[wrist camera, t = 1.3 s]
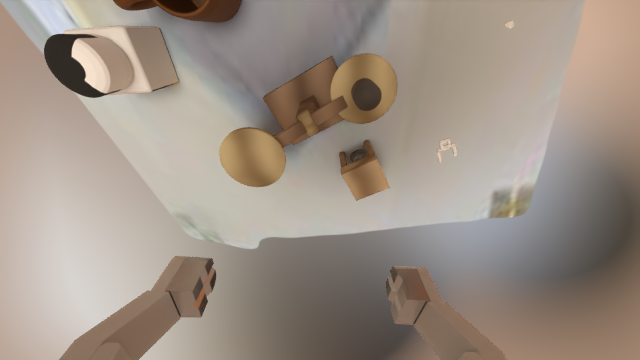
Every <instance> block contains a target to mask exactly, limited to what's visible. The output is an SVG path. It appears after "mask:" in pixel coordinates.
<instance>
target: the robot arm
mask: <svg viewBox="0 0 640 360" xmlns="http://www.w3.org/2000/svg"><path fill="white" fill-rule="evenodd" d="M213 264H214V263H213V259H212V258H200V257H185V256H175V257H174V258H173V259H172V260H171V261H170V263H169V264H168V266H167V267H166V269H165V270H164V272H163V273H162V275H161V276H160V278H159V279H158V281H157V282H156V284H155V285H154V287H153V288H152V290H151V291H146V292H145V293H143V294H142V295H140V296H139V297H138V298H136V299H134V300H133V301H131V302H130V303H129V304H127V305H126V306H124V307H123V308H121V309H120V310H119V311H117V312H116V313H114V314H112V315H111V316H110V317H108V318H107V319H105V320H104V321H102V322H101V323H99V324H98V325H97V326H95V327H94V328H92V329H91V330H89V331H88V332H86V333H85V334H84V335H82V336H80V337H79V338H78V339H76V340H75V341H74V342H73V343H72V344H71V346H70V347H69V348H68V350H67V351H66V352H65V353H64V354H63V356H62V357H61V358H60V359H59V360H139V359H140V358H141V357H142V356H143V355H144V354H145V352H147V351H148V350H149V349H150V348H151V347H152V346H153V345H154V344H155V343H156V342H157V341H158V340H159V339H160V338H161V337H162V336H163V335H164V334H165V333H166V332H167V331H168V330H169V329H170V328H171V327H172V326H173V325H174V324H175V323H176V322H177V321H178V320H179V319H180V317H202V314H203V312H204V310H205V307H206V305H207V302H208V300H207V297H206V296H207V295H209V294H210V293H211V292H212V291H213V288H214V285H215V281H216V271H215V269H214V268H212V266H213ZM390 273H391V275H390V276H389V277H388V278H387V281H386V293H387V297H388V299H389V300H390V301H391V302H392V303H393V304H392V306H391V311H392V315H393V319H394V322H395V323H396V324H411V325H414V327H415V328H416V329H417V331H418V332H419V333H420V334H421V336H422V337H423V338H424V339H425V341H426V342H427V343H428V344H429V346H430V347H431V348H432V350H433V351H434V352H435V353H436V355H437V356H438V357H439V358H440V359H441V360H507V359H506V357H505V355H504V354H503V352H502V351H501V350H500V349H499V348H498V347H496V346H495V345H494V344H493V343H492V342H490V340H489V339H488V338H486V337H485V336H484V335H483V334H482V333H481V332H480V331H478V330H477V329H476V328H475V327H474V326H473V325H472V324H471V323H469V322H468V321H467V320H466V319H465V318H464V317H463V316H462V315H460V314H459V313H458V312H457V311H456V310H455V309H454V308H453V307H451V306H450V305H449V304H448V303H447V302H443V301H442V299H441V297H440V294H439V292H438V290H437V288H436V286H435V284H434V282H433V280H432V278H431V276H430V274H429V272H428V270H427V269H426V268H423V267H421V268H420V267H403V266H402V267H401V266H393V267H392V268H391V270H390Z"/></svg>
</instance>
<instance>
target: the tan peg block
mask: <svg viewBox="0 0 640 360" xmlns="http://www.w3.org/2000/svg"><path fill="white" fill-rule="evenodd" d="M364 145H365V148H366V150H367V153H368V156H367V157H364V158H362V159H360V160H358V161H356V162H353V163H351V164H349V165H347V162H346V157H345V153H344V152H340V154H339V155H340V162H341V174H342V176H343V178H344V180H345V182H346V183H347V185H348V187H349V189H350V190H351V192H352V194H353V196H354V197H355V199H356V201H357V200H360V199H362V198H365V197H367V196H370V195H372V194H375V193H377V192H380V191H382V190H385V189H387V188H390V187H389V185H388V182H387V180H386V178H385V176H384V173H383V171H382V169H381V167H380V164H379V162H378V160H377V158H376V156H375V153H374V151H373V149H372V146H371V144H370V142H369V141H368V140H365V141H364Z"/></svg>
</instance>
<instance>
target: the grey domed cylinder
mask: <svg viewBox="0 0 640 360" xmlns="http://www.w3.org/2000/svg"><path fill="white" fill-rule="evenodd" d="M367 156H368V153H367V152H366V151H363V150H357V151H355V152H353V153H352V154H351V156H350V164H351V163H353V162H356V161H358V160H360V159H362V158H364V157H367Z"/></svg>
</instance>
